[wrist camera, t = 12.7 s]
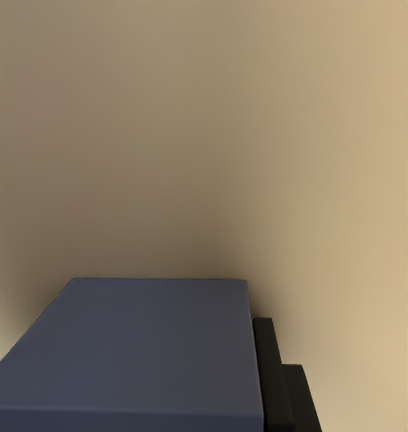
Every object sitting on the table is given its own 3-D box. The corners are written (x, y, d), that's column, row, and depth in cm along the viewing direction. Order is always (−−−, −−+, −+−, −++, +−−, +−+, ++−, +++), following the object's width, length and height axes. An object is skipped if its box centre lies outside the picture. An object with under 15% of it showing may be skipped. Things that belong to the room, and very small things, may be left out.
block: (246, 279, 11) (264, 414, 6) (243, 423, 12) (255, 627, 8) (72, 276, 11) (-42, 405, 6) (88, 419, 13) (4, 612, 8)
